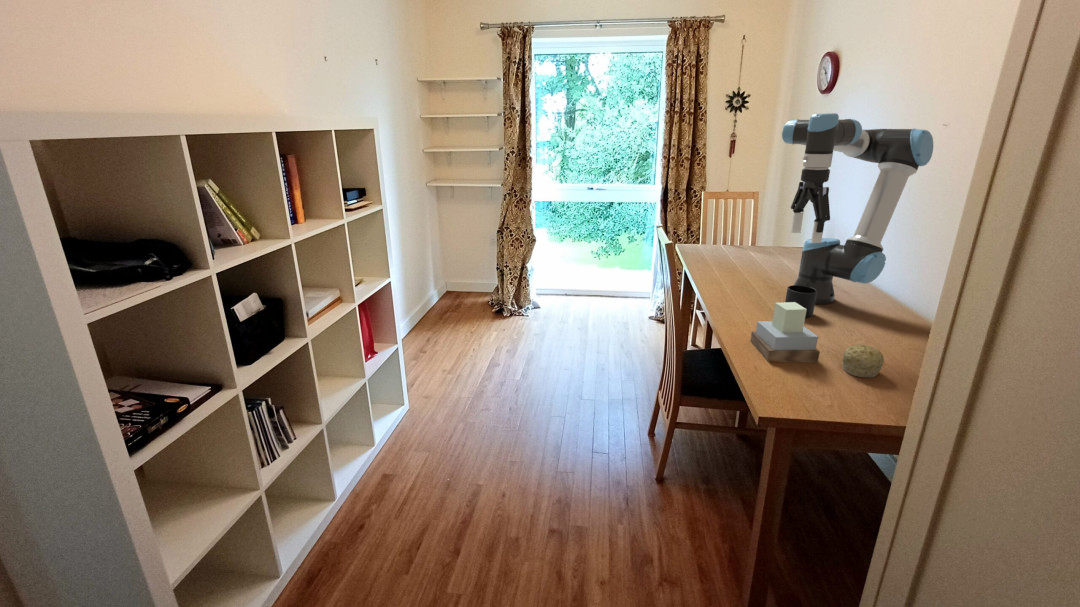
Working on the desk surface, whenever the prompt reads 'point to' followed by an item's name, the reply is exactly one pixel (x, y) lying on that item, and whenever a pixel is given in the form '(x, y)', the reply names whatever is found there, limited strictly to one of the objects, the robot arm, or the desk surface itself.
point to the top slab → (786, 337)
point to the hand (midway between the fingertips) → (805, 237)
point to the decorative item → (862, 360)
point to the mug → (802, 297)
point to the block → (789, 317)
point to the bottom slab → (783, 352)
